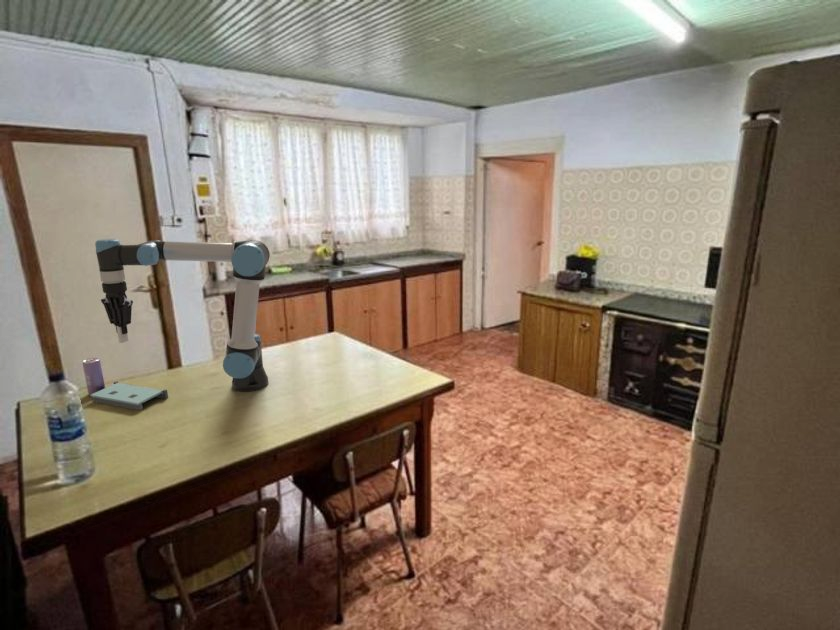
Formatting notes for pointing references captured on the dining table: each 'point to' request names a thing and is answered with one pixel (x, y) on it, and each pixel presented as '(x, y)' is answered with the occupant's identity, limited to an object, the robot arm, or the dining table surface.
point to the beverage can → (93, 375)
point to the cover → (127, 393)
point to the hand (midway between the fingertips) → (123, 341)
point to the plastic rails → (127, 405)
